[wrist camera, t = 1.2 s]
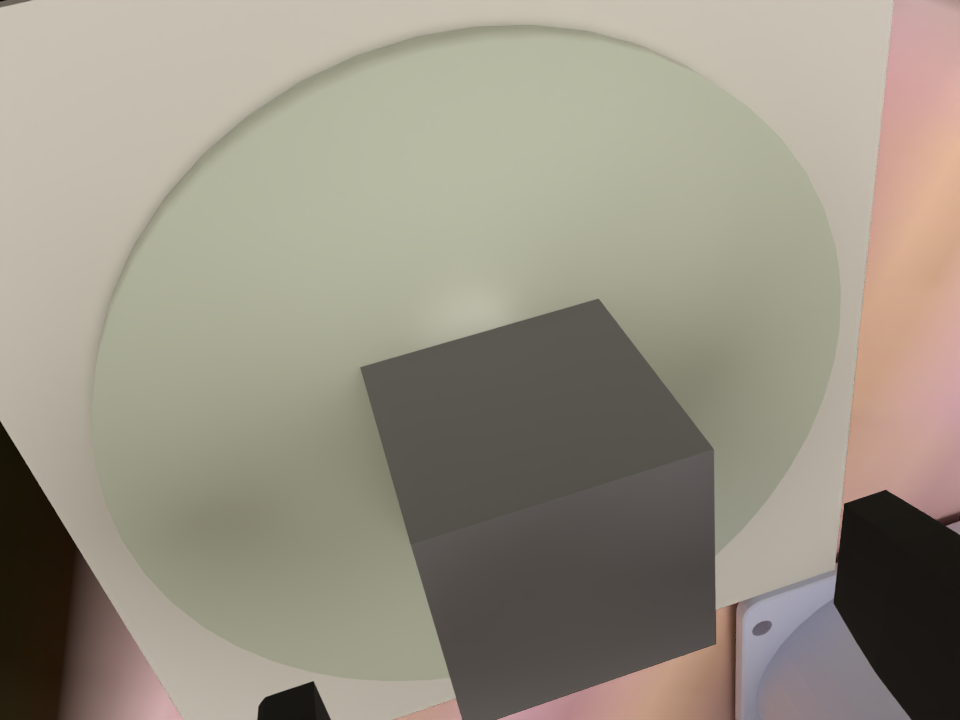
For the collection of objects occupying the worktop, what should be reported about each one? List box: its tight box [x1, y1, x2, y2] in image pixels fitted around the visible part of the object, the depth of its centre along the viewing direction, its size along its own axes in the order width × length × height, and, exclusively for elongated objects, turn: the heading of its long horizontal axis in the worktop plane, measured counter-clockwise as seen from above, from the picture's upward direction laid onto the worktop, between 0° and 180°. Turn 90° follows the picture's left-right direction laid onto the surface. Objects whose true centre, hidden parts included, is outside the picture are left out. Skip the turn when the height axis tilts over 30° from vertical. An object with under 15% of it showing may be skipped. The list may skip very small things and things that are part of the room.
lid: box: [91, 25, 841, 720], centre depth 14 cm, size 13×13×5 cm
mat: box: [0, 0, 894, 720], centre depth 16 cm, size 16×15×1 cm
